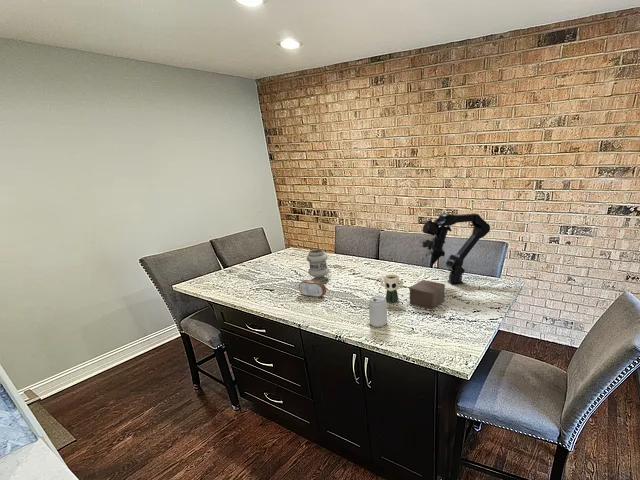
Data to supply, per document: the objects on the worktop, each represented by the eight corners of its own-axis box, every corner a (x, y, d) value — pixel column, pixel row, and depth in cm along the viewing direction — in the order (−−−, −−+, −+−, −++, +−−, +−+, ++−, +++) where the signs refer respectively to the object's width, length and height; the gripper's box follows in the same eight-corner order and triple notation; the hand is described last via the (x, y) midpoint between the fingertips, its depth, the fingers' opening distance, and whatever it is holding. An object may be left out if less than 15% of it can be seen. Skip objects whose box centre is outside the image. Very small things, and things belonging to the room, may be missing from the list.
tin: (327, 296, 176) (325, 281, 173) (324, 298, 173) (322, 283, 170) (302, 293, 181) (300, 278, 177) (299, 295, 178) (297, 280, 175)
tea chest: (432, 309, 159) (432, 293, 156) (409, 303, 166) (409, 288, 163) (444, 300, 169) (444, 285, 166) (422, 295, 175) (422, 281, 172)
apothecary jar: (305, 282, 197) (301, 252, 190) (317, 276, 207) (313, 247, 200) (322, 284, 192) (319, 254, 185) (334, 278, 203) (331, 249, 196)
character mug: (380, 303, 166) (379, 278, 161) (382, 297, 173) (381, 273, 168) (402, 304, 165) (401, 279, 160) (403, 298, 172) (403, 274, 167)
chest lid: (431, 294, 156) (431, 292, 155) (408, 289, 162) (408, 287, 162) (444, 285, 166) (444, 284, 165) (422, 281, 172) (422, 279, 172)
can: (369, 320, 149) (368, 295, 145) (386, 319, 150) (385, 294, 145) (369, 328, 142) (368, 302, 138) (387, 327, 143) (386, 301, 138)
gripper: (423, 231, 185) (414, 259, 189) (428, 234, 167) (419, 264, 171) (442, 237, 187) (433, 264, 191) (449, 241, 169) (439, 270, 173)
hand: (431, 265), depth 181 cm, fingers closed
